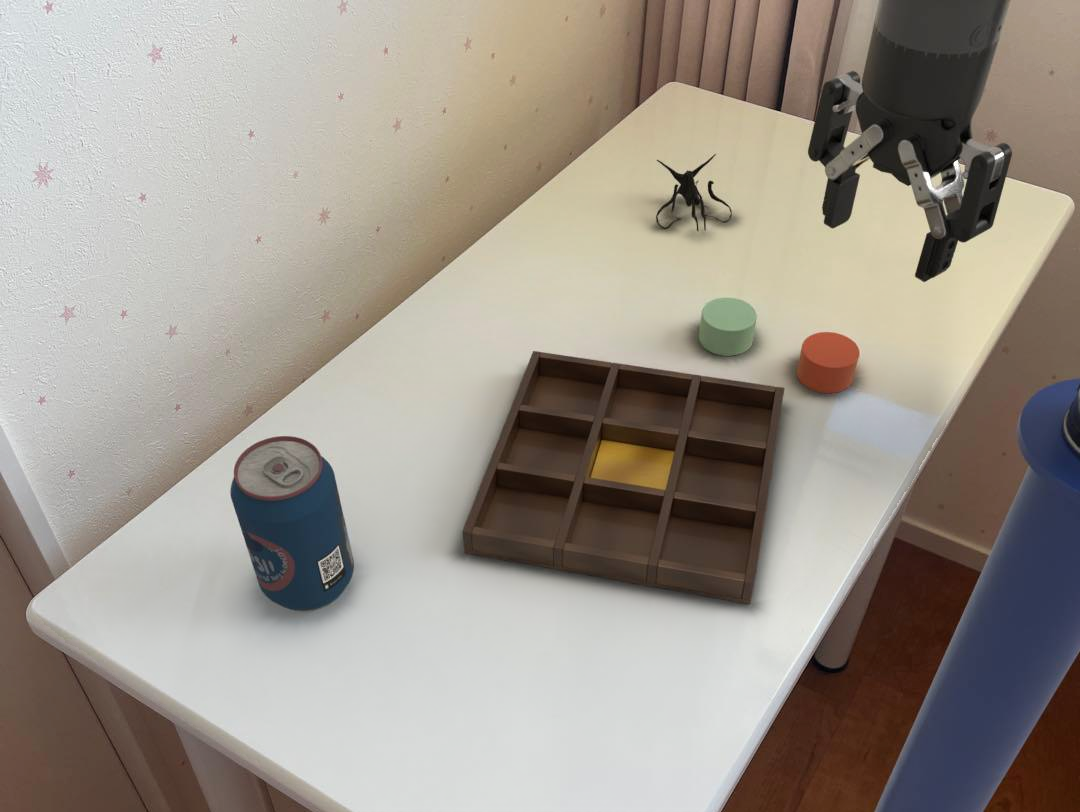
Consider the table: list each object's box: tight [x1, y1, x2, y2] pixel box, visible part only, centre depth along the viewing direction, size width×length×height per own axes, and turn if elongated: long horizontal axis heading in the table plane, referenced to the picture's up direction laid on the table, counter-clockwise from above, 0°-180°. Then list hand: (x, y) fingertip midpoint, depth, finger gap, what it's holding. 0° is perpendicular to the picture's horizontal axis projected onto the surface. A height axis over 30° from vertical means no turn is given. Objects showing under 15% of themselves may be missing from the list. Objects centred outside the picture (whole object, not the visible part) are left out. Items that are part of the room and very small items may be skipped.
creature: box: [655, 153, 733, 232], centre depth 110 cm, size 8×5×8 cm
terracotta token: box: [796, 331, 860, 394], centre depth 95 cm, size 5×5×3 cm
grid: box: [461, 350, 785, 605], centre depth 87 cm, size 21×21×2 cm
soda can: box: [229, 435, 355, 612], centre depth 77 cm, size 7×7×12 cm
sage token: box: [698, 297, 758, 357], centre depth 98 cm, size 5×5×3 cm
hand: (880, 248), depth 80 cm, fingers open, 8 cm apart
